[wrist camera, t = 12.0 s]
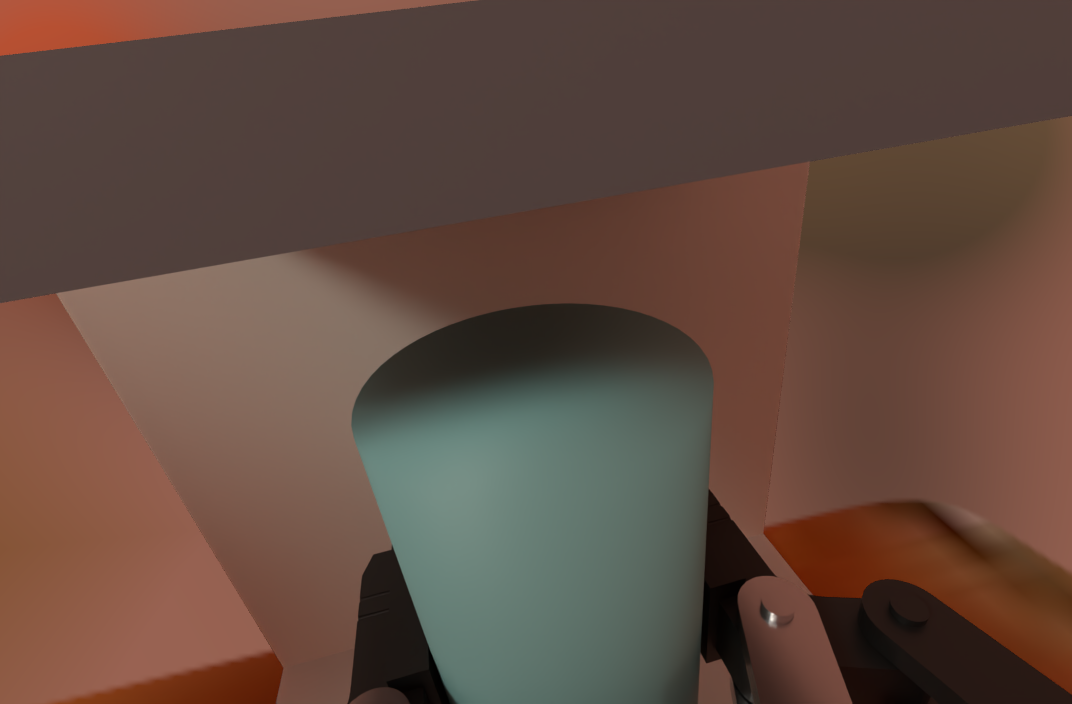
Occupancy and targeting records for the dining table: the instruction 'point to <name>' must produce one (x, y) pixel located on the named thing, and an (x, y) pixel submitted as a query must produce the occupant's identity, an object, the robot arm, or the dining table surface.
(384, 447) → the post
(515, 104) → the stand
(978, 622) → the dining table surface
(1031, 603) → the dining table surface
